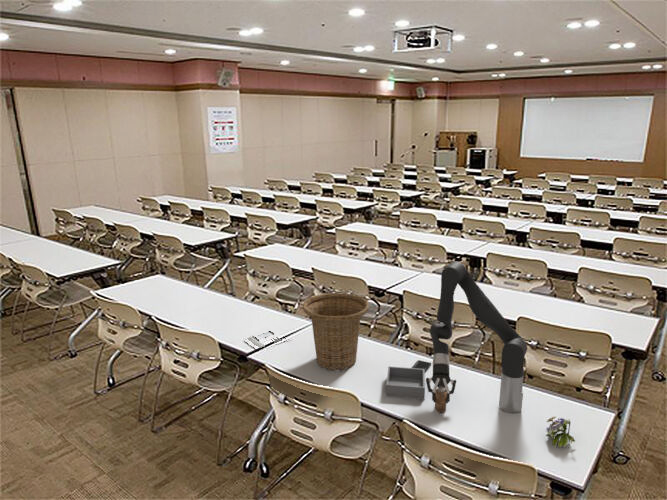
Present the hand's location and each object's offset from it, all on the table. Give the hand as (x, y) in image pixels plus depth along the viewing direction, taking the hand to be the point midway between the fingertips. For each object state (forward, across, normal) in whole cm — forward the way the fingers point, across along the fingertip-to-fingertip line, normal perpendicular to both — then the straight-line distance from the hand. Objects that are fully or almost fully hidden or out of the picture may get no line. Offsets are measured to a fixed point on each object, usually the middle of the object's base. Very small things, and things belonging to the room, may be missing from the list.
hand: (440, 402), depth 217 cm
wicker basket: (-25, -54, +32) cm, 67 cm away
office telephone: (-39, -100, +46) cm, 117 cm away
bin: (-9, -16, +16) cm, 24 cm away
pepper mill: (+2, 0, +5) cm, 5 cm away
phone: (-23, -9, +30) cm, 39 cm away
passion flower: (+13, +47, -6) cm, 49 cm away
